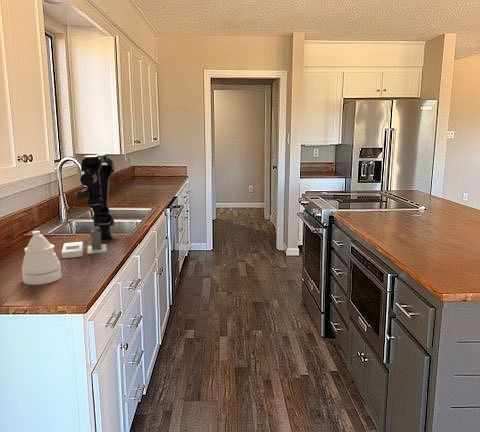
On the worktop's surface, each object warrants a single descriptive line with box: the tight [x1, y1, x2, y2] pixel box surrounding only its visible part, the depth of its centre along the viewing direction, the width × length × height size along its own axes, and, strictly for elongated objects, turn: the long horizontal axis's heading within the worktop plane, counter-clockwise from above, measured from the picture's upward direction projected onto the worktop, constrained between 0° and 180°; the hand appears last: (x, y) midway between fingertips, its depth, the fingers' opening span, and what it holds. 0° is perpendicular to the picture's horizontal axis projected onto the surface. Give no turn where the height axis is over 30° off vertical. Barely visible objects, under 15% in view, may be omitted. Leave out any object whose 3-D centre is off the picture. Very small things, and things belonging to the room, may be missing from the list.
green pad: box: [86, 243, 107, 255], centre depth 197 cm, size 12×8×1 cm, turn 18°
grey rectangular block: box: [90, 229, 102, 250], centre depth 196 cm, size 4×4×8 cm
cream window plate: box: [61, 241, 84, 259], centre depth 193 cm, size 16×8×2 cm, turn 18°
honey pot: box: [21, 230, 62, 286], centre depth 159 cm, size 13×13×18 cm
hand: (96, 217), depth 203 cm, fingers open, 9 cm apart
